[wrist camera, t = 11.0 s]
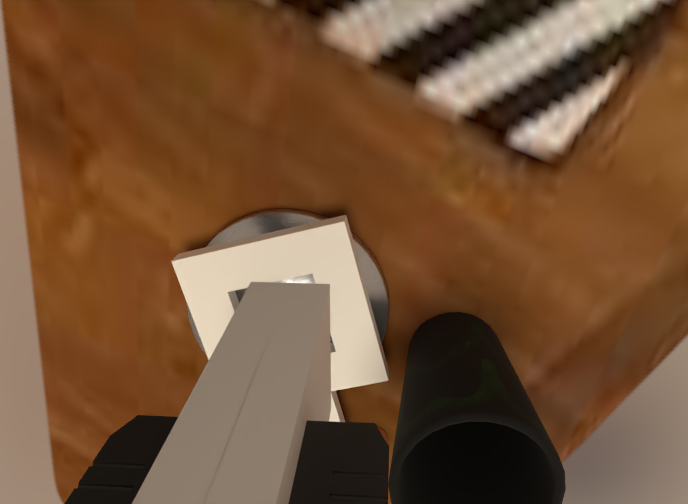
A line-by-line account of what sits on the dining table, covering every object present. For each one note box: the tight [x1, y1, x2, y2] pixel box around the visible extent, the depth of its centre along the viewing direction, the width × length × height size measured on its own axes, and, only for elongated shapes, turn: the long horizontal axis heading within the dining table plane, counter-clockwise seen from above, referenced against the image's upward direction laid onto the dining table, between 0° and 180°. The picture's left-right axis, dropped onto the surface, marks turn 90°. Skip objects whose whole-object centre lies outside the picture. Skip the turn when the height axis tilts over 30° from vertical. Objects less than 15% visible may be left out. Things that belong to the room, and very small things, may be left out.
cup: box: [388, 313, 565, 504], centre depth 34 cm, size 8×8×12 cm
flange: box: [172, 215, 389, 422], centre depth 35 cm, size 17×10×8 cm, turn 15°
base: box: [187, 209, 388, 355], centre depth 35 cm, size 12×12×9 cm
